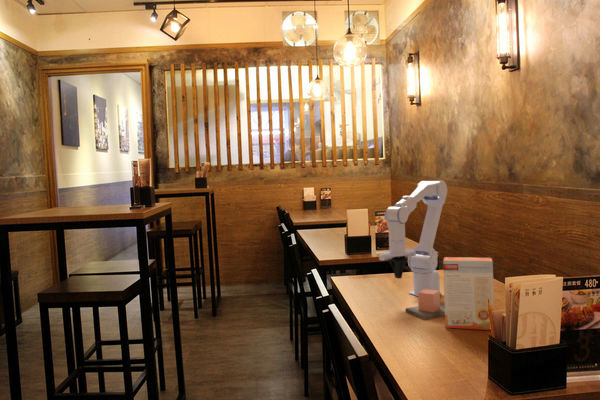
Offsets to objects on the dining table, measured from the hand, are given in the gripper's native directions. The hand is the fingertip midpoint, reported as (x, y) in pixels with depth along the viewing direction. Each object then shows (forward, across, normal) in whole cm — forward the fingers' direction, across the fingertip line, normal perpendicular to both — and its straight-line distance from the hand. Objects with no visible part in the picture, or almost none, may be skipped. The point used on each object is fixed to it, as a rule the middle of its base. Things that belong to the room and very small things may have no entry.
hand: (398, 277), depth 172 cm
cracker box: (+10, -3, +31) cm, 33 cm away
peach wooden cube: (+8, -2, +14) cm, 16 cm away
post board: (+9, -2, +14) cm, 17 cm away
